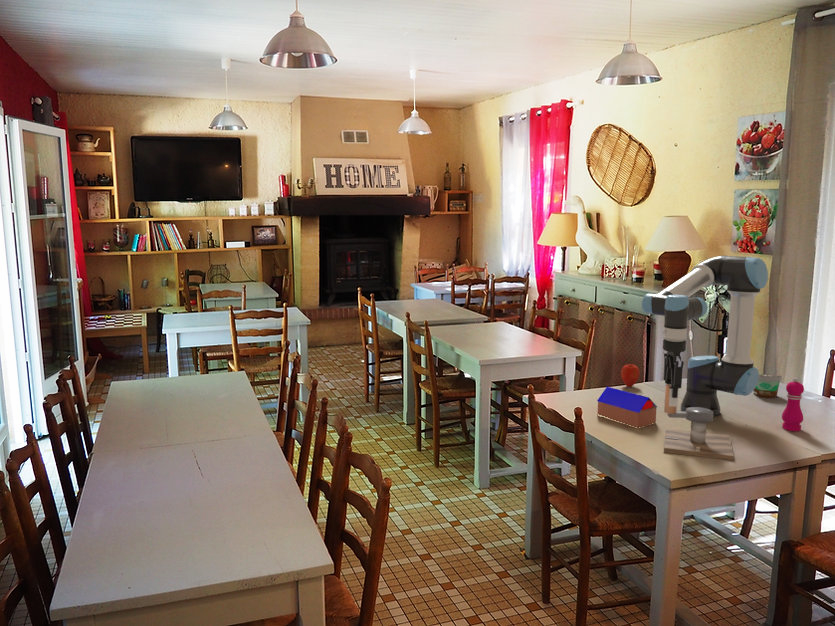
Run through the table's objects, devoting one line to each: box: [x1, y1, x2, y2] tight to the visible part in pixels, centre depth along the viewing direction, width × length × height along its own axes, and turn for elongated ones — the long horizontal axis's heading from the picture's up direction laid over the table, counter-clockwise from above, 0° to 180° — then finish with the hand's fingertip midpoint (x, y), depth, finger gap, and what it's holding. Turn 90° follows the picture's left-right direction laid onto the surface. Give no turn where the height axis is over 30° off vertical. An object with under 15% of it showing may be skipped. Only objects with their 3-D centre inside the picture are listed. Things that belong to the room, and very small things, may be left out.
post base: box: [663, 421, 735, 461], centre depth 242 cm, size 22×22×10 cm
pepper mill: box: [781, 377, 805, 432], centre depth 259 cm, size 7×7×20 cm
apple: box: [620, 363, 640, 388], centre depth 320 cm, size 9×8×11 cm
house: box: [596, 386, 658, 429], centre depth 271 cm, size 12×20×12 cm, turn 36°
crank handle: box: [663, 384, 714, 424], centre depth 241 cm, size 16×9×12 cm, turn 85°
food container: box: [753, 373, 783, 399], centre depth 302 cm, size 12×6×10 cm, turn 73°
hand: (670, 403), depth 241 cm, fingers closed on crank handle, 4 cm apart
